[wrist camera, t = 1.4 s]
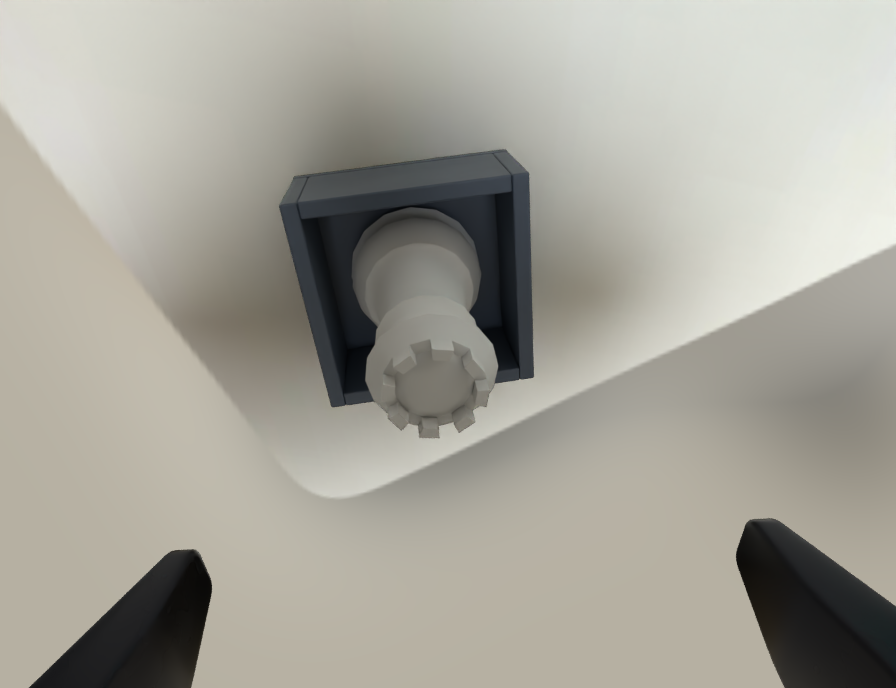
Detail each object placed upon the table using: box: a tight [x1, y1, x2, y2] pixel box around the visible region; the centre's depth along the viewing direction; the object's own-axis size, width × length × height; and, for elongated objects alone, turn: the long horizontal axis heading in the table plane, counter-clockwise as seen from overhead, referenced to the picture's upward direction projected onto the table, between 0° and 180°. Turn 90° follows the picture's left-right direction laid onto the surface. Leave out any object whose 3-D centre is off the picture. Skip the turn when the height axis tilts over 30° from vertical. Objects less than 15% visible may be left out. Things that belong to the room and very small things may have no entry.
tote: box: [279, 150, 534, 407], centre depth 18 cm, size 7×7×3 cm
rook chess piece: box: [352, 207, 498, 438], centre depth 16 cm, size 4×4×8 cm
